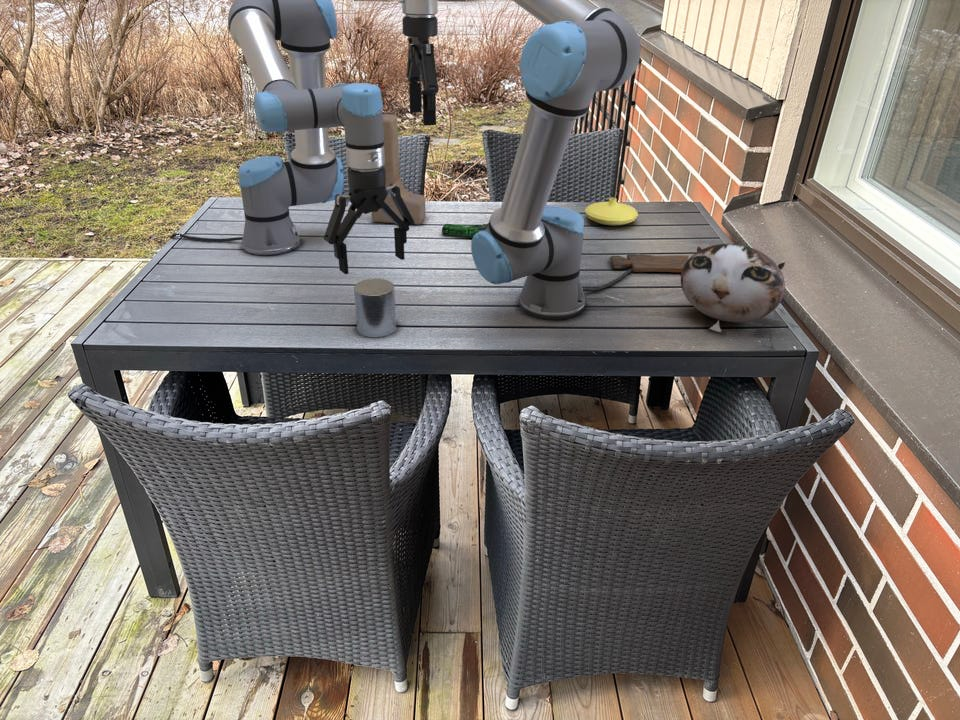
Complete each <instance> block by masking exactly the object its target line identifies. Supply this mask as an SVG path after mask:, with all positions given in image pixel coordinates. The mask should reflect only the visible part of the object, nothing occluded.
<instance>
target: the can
mask: <svg viewBox="0 0 960 720" xmlns="http://www.w3.org/2000/svg"><path fill="white" fill-rule="evenodd" d="M395 291H396V289H395V285H394V283H393V282H392V281H390V280H387V279H384V278H368V279H364V280H361V281H359V282H357V283H356V284H354V286H353V295H354V306H355V307H354V308H355V318H356V319H355V320H356V330H357V332H358V334H360V335H361V336H364V337H368V338H383V337H387V336H390V335H392V334H393V333H394V332H396V329H397V311H396V293H395Z"/></svg>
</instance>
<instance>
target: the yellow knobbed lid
mask: <svg viewBox="0 0 960 720" xmlns="http://www.w3.org/2000/svg"><path fill="white" fill-rule="evenodd" d="M584 211H585V216H586V217H587V218H588V219H590V220H592V221H593V222H595V223H597V224H600V225H603V226H610V227H611V226H612V227H615V226H624V225H627V224H631V223H633V222H634V221H636V220H637V218H638V217H639V213H638V211H637V210H636V208H635V207H634V206H632V205H629V204H626V203H623V202H617V198H616V197H609V198H608V201H599V202H598V201H597V202H594V203H591V204H589V205H588V206H587V207H586V208H585V210H584Z"/></svg>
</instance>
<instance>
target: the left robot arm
mask: <svg viewBox="0 0 960 720" xmlns="http://www.w3.org/2000/svg"><path fill="white" fill-rule="evenodd" d="M227 26H228V31H229V33H230V36H231V38H232V40H233V42H234V43H235V45H236V46H238V47H239V48H240V49H241V51H242V54H243V57H244V59H245V62H246V64H247V66H248V69H249V72H250V74H251V77H252V79H253V81H254V84H255V87H256V89H257V91H258V92H256V93H255V94H254V97H253V106H254V107H253V108H254V114H255V118H256V121H257V125H258V128H259V129H260V130H261V131H262V132H264V133H274V132H275V133H285V132H292V131H294V141H295V147H294V149H293V150H292V151H291V152H290V160H289V161H284V160H283V158H282V157H281V156H279V155H271V156H270V155H263V156H259V157H255V158H251V159H248V160H246V161H245V162H243V163H241V165H240V166H239V168H238V170H237V174H238V186H239V188H240V194H241V195H240V196H241V201H242V207H243V212H244V213H243V215H244V219H245V220H244V226H243V228H244V229H243V235H242V236H236V237H229V238H228V237H227V238H212V237H210V238H209V237H198V236H191V235H186V234H182V233H179V232H178V234H177V233H173V234H171V235H170V236H169V240H172V239H174V238H175V237H177V236H176V235H179V234H180V236H178V237H180V238H183V239H187V240H193V241H201V242H216V243H217V242H222V243H223V242H233V241H234V242H235V241H241V246H242V249H243V251H244V252H246V253H248V254H252V255H255V256H256V255H257V256H275V255H281V254H282V255H283V254H285V253H289V252H291V251H293V250H296V249H297V248H298V247H299V246H300V244H301V241H300V235H299V233H298V231H297V230H298V229H297V226H296V225H295V224H294V223H293V220H292V218H291V216H290V207H296V206H297V207H298V206H304V205H311V204H312V205H314V204H326V203H328V202H334V207H333V208H332V209H333V210H332V212H331V215H330V218H329V221H328V224H327V227H326V229H325V232H324V236H323V241H325V242H326V243H328V244H329V245H333V246H332V247H333V254H334V257H335V258H336V259H337V260H338V269H339V271H340V272H341V273H343V274H344V275H349V261H348V250H347V249H348V248H347V244H346V243H345V242H344V241H345V240H346V238H347V237H348V235H349V234H350V232H351V230H352V228H353V227H354V226H355V224H356V222H357V221H358V219H360V218H361V216H362V215H363V214H364V215H367V214H370V213H372V212H377V211H378V210H379V209H381V210H382V211H383V212H384V213H385V214H386V215H387V216H388V217H389V218H390V219H391V220H392V221H393V222H394V223H393V224H395V225H396V227H394V228H393V237H394V256H395V257H396V258H397V259H399V260H401V261H404V260H405V244H407V242H408V239H407V238H408V237H407V236H408V235H407V232H408V231H409V230H410V227H412V226H414V225H415V224H414V223H415V222H414V220H413V218H412V216H411V214H410V212H409V210H408V209H407V207H406V205H405V203H404V201H403V199H402V197H401V193H400V188H399V187H398V186H396V185H394V184H390V185H389V187H385V185H386V172H385V168H384V167H383V166H384V165H385V155H384V133H383V114H384V112H383V110H384V103H383V98H382V90H381V88H380V87H379V86H378V85H376V84H374V83H373V84H371V83H369V82H354V83H353V82H352V83H345V82H340V83H339V82H338V83H335V84H334V85H332V86H331V87H327V81H326V80H327V79H326V62H325V61H326V59H325V55H326V53H328V51H329V50H330V49H331V40H334V39H336V38H337V36H338V21H337V14H336V10H335V7H334V3H333V0H233V2H232V4H231V6H230V7H229V10H228V15H227ZM277 41H279V42H280V46H279V45H278V42H277ZM280 47H281V49H282V50H283V51H284V52H285V53H286V54H287V57H288V65H287V62H286V60H285V57H284V55H283V53H282V51H281V49H280ZM339 127H340V128H341V127H343V128H344V137H345V138H344V139H345V151H346V152H345V154H346V165H347V166H348V168H347V179H348V188H349V192H348V194H345V195H342V193H343V190H344V184H345V181H344V179H345V175H344V172H343V171H344V167H343V162H342V160H341V158H340V157H338V156H336V152H335V151H334V150H333V149H332V148H331V147H330V135H329V128H339ZM388 194H389V196H391V198H392V200H393V201H394V203H395V205H396V207H397V209H398V211H399V212H400V214H401V216H402V218H403V221H402V220H401V219H400V218H399V217H398V216H397V215H396V214H395V213H394V212H393V211H392V210H391V208H390V207H389V206H388V205H387V204H386V203H385V202H384V201H385V199H386V197H387V195H388ZM349 203H350V205H349ZM348 206H349V207H348ZM346 207H348V209H347V213H346V215H345V212H346ZM344 215H345V216H344Z"/></svg>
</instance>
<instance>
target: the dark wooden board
mask: <svg viewBox="0 0 960 720" xmlns="http://www.w3.org/2000/svg"><path fill="white" fill-rule="evenodd" d="M689 258H690V256H689V255H684V254H683V255H682V254H681V255H679V254H678V255H677V254H676V255H675V254H674V255H673V254H672V255H669V254H668V255H654V254H653V255H652V254H633V253H631V254H627V255H626V257H624V256H621V255H610V257H609V259H610V264H611V267H612V269H613V270H624V269H630V268H631V269H632V268H633V271H632V272H633V273H649V272H652V273H654V272H656V273H657V272H659V273H680V274H681V273H682V269H683V267H684V265H685V263H686V262H687V261H688V259H689Z"/></svg>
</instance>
